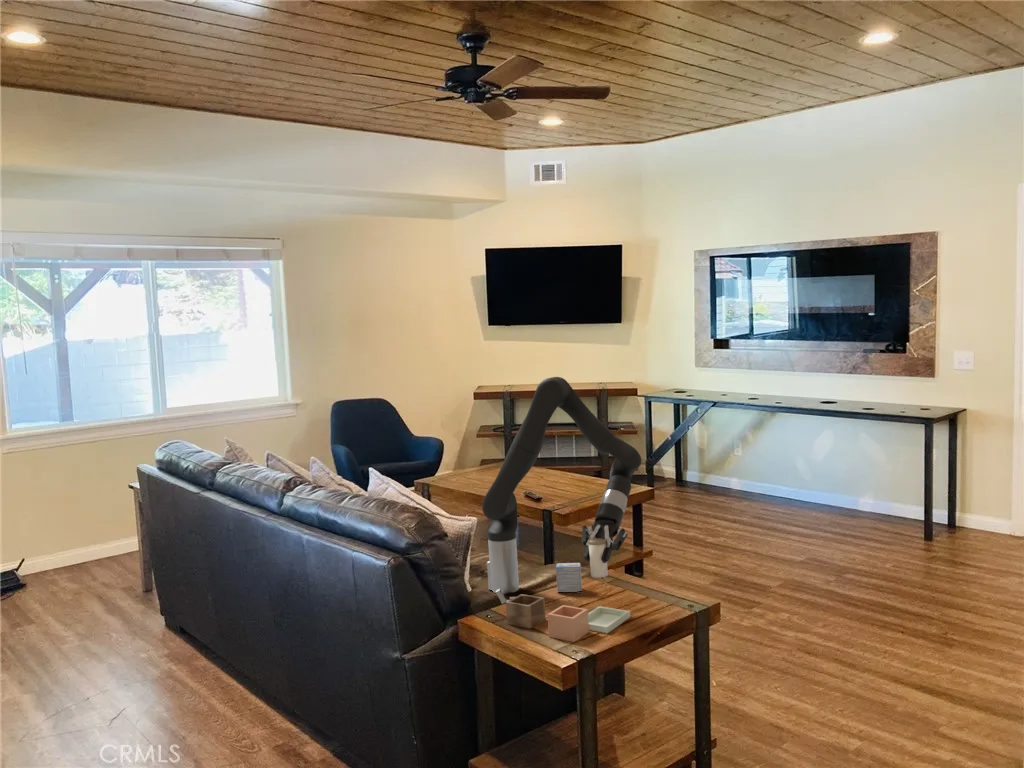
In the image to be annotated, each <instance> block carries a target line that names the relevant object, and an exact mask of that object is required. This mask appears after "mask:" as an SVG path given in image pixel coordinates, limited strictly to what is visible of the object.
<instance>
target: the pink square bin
mask: <svg viewBox="0 0 1024 768" xmlns="http://www.w3.org/2000/svg"><path fill="white" fill-rule="evenodd" d="M588 613H589V609H587V608H583V607H577V606H571V605H565V604H562V605H560V606H558V607H557V608H555V609H554V610H552V611H550V612H549V613H547V626H548V627H547V628H548V638H553V639H556V640H557V639H558V640H562V641H567V642H573V643H575V642H576V641H578V640H580V639H581V638H583V637H584V636H586V635H587V634H588V633H589V632H590V630H589V619H588Z"/></svg>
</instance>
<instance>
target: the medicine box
mask: <svg viewBox="0 0 1024 768" xmlns="http://www.w3.org/2000/svg"><path fill="white" fill-rule="evenodd" d="M555 571H556V572H555V573H556V589H557V590H556V591H557V592H577V591H582V592H583V583H582V566H581V562H566V563H565V562H563V563H562V562H561V563H556V565H555ZM557 592H556V593H557ZM577 593H578V592H577Z"/></svg>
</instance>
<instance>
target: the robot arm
mask: <svg viewBox="0 0 1024 768" xmlns="http://www.w3.org/2000/svg"><path fill="white" fill-rule="evenodd" d="M557 408H560V409H561V410H562V411H563V412H565V413H566V414H567V415H568V416H569V417H570V418H571V420H573V422H574V423H575V424H576V426H577V428H578V429H579V431H580V433H581V434H582V435H583V437H584V438H585V440H586V441H588V442H589V444H591V446H592V447H594V449H595V450H597V452H599V453H600V454H601V455H603V456H605V455H610V456H612V457H614V460H613V463H612V464H611V468H610V470H609V471H610V472H609V480H608V482H607V485H606V487H605V490H604V493H603V495H602V496H601V499H600V503H599V505H598V508H597V512H596V513H595V518H594V522H593V524H592V525H591V526H587V525H583V526H582V529H581V541H580V543H581V544H582V545H583V546H584V547H585V549H584V552H583V558H584V560H585V561H586V562H590V557H589V544H588V539H591V538H605V539H606V548H604V551H603V554H602V558H601V560H602V562H603V563H606V562H607V563H608V562H609V561H610V557H611V554H612V552H613V551H619V550H620V549H621V546H622V545H623V544H624V543H625V542H624V541H625V540H626V538H627V537H628V533H627V531H626V530H625V528H620V527H621V525H622V522H623V519H624V515H625V512H626V509H627V505H628V499H629V497H630V493H631V490H632V482H631V480H632V477H633V475H634V473H635V472H636V471H637V470H638V469H639V468H640V466H641V464H642V456H641V454H640V453H639V451H638V450H637V448H635V447H634V446H632V445H631V444H629V443H628V442H626V441H624V440H622V439H621V438H619V437H618V436H616V435H615V434H614V433H613V432H612V431H611V430H610V429H609V428H608V427H607V426H606V425H605V424H604V423H603V422H601V420H600V419H599V418H598V417H596V415H595V414H594V413H593V412H592V411H591V410H590V408H588V406H587V405H586V404H585V403H584V402H583V401H582V399H581V398H580V397H579V395H578V394H577V392H576V391H575V390H574V389H573V387H572V386H571V385H570V383H569V382H568V381H567V380H566V379H565V378H563V377H561V376H551V377H547V378H544V379H543V380H541V382H539V384H538V385H537V387H536V390H535V392H534V395H533V397H532V401H531V403H530V406H529V408H528V412H527V414H526V416H525V418H524V419H523V421H522V423H521V425H520V428H519V429H518V431H517V433H516V435H515V436H514V438H513V441H512V443H511V445H510V447H509V449H508V451H507V453H506V456H505V457H504V460H503V462H502V465H501V467H500V469H499V472H498V473H497V476H496V477H495V480H494V482H493V483H492V484H491V486H490V487H489V489H488V491H487V492H486V494H485V495H484V497H483V500H482V504H481V507H482V508H481V509H482V513H483V515H484V516H485V517H486V518H487V519H488V520H490V521H491V524H490V527H489V529H488V530H487V541H488V542H487V543H488V544H487V545H488V557H489V560H487V562H486V567H487V568H486V569H487V585H488V590H489V589H490V590H492V591H493V592H492V591H491V592H492V593H494V594H496V590H497V589H499V588H500V590H501V591H502V593H503V595H505V594H509V593H515V592H517V591H519V590H520V583H519V582H520V580H519V566H518V565H519V563H518V548H517V530H518V521H519V520H518V519H519V518H518V501H517V497H516V495H515V494H514V492H515V491H516V488H517V487H518V485H519V484H520V482H521V481H522V480H523V479H524V478H525V477H526V476H527V474H528V473H529V472H530V470H531V469H532V468H533V466H534V464H535V463H536V461H537V459H538V457H539V455H540V453H541V450H542V448H543V445H544V441H545V437H546V431H547V427H548V424H549V421H550V420H551V418H552V417H553V415H554V413H555V411H556V410H557ZM614 537H615V539H614ZM490 590H489V591H490Z"/></svg>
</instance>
